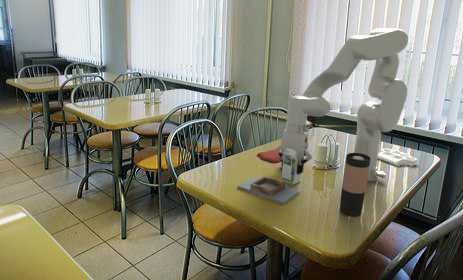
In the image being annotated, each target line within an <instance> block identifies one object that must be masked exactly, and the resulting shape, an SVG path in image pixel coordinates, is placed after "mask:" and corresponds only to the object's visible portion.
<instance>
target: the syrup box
mask: <svg viewBox="0 0 463 280" xmlns="http://www.w3.org/2000/svg"><path fill="white" fill-rule="evenodd" d="M298 165H299V161H298V158H297V151H296V150H294V149H289V148H287V149H286V150H285V151H284V157H283V169H282V172H281V179H280V181H281V182H284V183H286V184H289V185H291V186H292V185H295V184H297V183H300V182H301V180H302V173H301V174H299V175H298V174H297V168H298Z"/></svg>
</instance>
